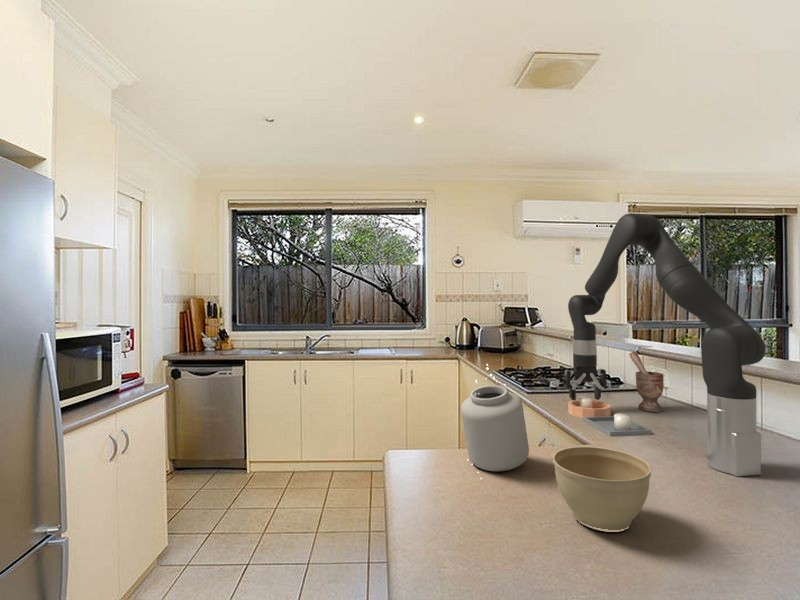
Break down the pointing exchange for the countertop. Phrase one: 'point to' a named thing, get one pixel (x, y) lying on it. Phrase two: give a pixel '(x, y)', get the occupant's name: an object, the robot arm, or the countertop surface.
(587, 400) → the cream rounded lump
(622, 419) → the cream rounded piece
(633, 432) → the tray
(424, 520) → the countertop surface
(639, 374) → the mortar and pestle
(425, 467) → the countertop surface
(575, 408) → the bowl
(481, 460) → the jar
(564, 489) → the planter bowl
